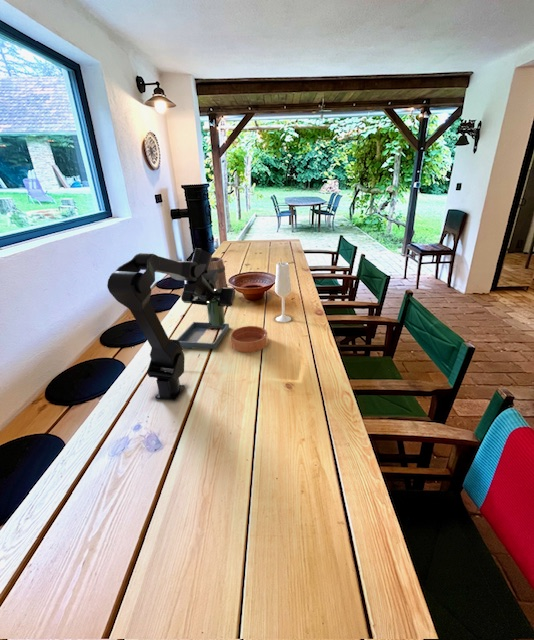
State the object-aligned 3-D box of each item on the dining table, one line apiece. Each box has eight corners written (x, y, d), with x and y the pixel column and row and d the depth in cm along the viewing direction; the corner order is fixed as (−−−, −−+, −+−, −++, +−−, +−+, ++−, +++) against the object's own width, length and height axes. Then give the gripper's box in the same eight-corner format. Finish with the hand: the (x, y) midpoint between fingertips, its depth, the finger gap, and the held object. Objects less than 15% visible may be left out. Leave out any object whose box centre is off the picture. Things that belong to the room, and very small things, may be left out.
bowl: (263, 355, 111) (262, 343, 109) (226, 352, 113) (225, 341, 112) (270, 337, 123) (270, 326, 121) (237, 335, 125) (236, 325, 123)
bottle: (225, 324, 118) (222, 291, 113) (209, 326, 117) (205, 292, 112) (224, 318, 124) (221, 286, 118) (208, 320, 123) (204, 287, 117)
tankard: (231, 302, 157) (228, 262, 149) (197, 304, 156) (191, 264, 148) (233, 287, 178) (230, 251, 170) (203, 289, 178) (198, 253, 169)
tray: (215, 350, 115) (214, 344, 114) (175, 347, 118) (174, 341, 117) (229, 329, 131) (228, 323, 129) (194, 327, 133) (193, 321, 132)
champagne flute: (293, 317, 139) (293, 262, 129) (288, 323, 134) (287, 266, 124) (279, 314, 142) (278, 261, 132) (273, 320, 136) (271, 265, 126)
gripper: (231, 265, 105) (244, 286, 119) (180, 263, 110) (199, 284, 124) (223, 296, 101) (238, 314, 115) (171, 292, 106) (192, 310, 120)
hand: (216, 305), depth 119 cm, fingers closed on bottle, 6 cm apart
